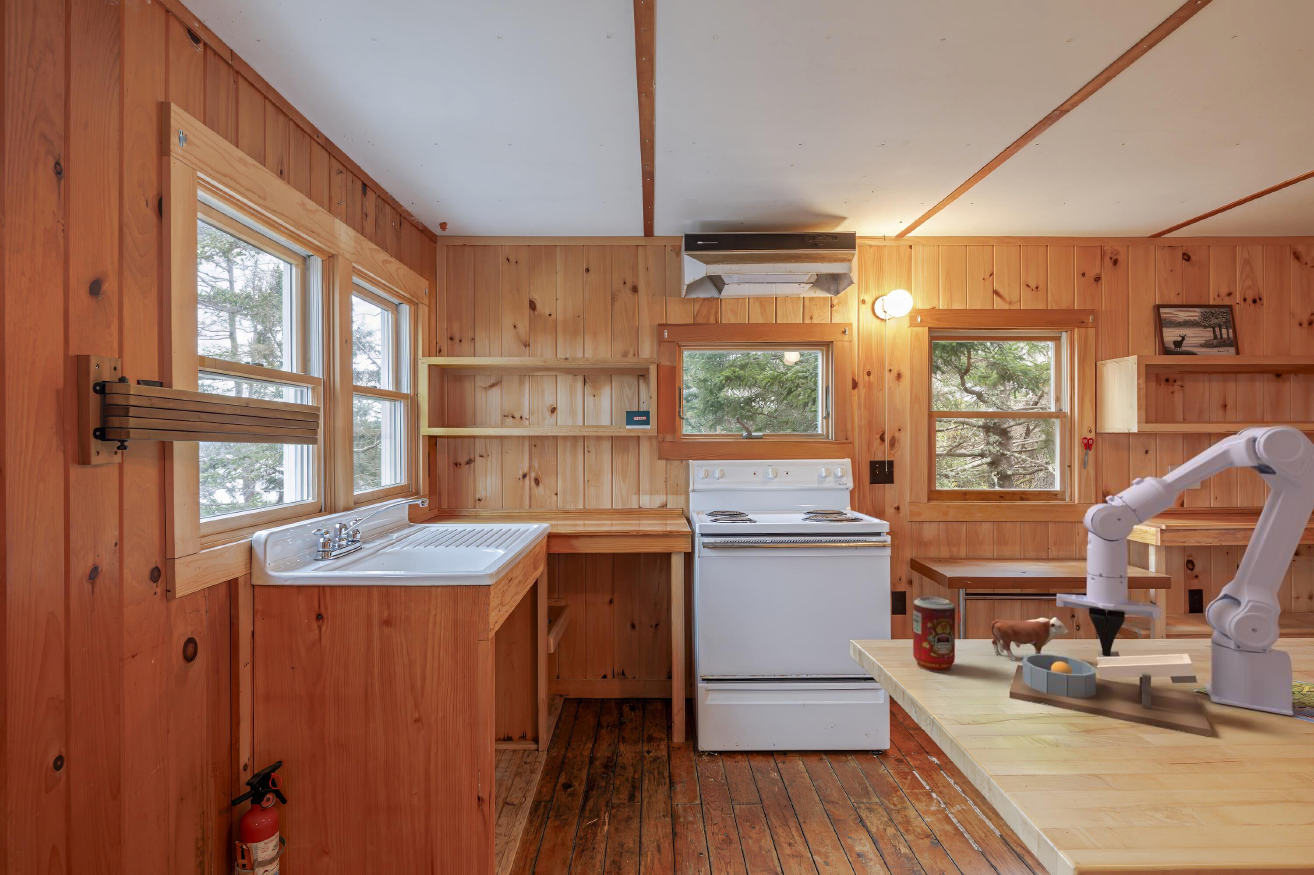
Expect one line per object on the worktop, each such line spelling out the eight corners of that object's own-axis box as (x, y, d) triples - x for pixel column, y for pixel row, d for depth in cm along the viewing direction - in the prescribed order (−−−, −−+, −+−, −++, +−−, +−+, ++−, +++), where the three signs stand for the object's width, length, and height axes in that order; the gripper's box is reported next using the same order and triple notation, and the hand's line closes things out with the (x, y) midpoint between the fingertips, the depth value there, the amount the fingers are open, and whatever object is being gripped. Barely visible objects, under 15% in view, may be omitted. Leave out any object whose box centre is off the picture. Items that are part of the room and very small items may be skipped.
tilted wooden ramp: (1186, 659, 107) (1181, 640, 108) (1198, 684, 96) (1192, 663, 97) (1100, 662, 114) (1096, 644, 114) (1102, 686, 103) (1096, 666, 103)
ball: (1047, 663, 110) (1059, 680, 109) (1046, 669, 108) (1058, 686, 107) (1064, 656, 109) (1076, 673, 108) (1063, 661, 106) (1076, 678, 105)
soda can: (929, 675, 115) (930, 605, 115) (905, 662, 122) (905, 596, 122) (963, 671, 117) (964, 603, 117) (937, 659, 124) (937, 594, 124)
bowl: (1095, 682, 109) (1095, 661, 109) (1095, 702, 101) (1096, 680, 101) (1025, 670, 115) (1025, 650, 115) (1020, 688, 107) (1020, 667, 107)
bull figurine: (1071, 665, 121) (1071, 620, 121) (992, 659, 124) (993, 616, 124) (1061, 657, 125) (1061, 614, 125) (986, 652, 128) (986, 610, 128)
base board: (1196, 701, 104) (1196, 663, 104) (1211, 737, 92) (1211, 694, 92) (1017, 670, 118) (1017, 637, 118) (1009, 697, 105) (1009, 660, 105)
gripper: (1056, 573, 112) (1055, 652, 112) (1162, 584, 104) (1162, 669, 104) (1057, 566, 118) (1057, 641, 118) (1158, 576, 110) (1158, 657, 110)
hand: (1106, 654), depth 111 cm, fingers closed
